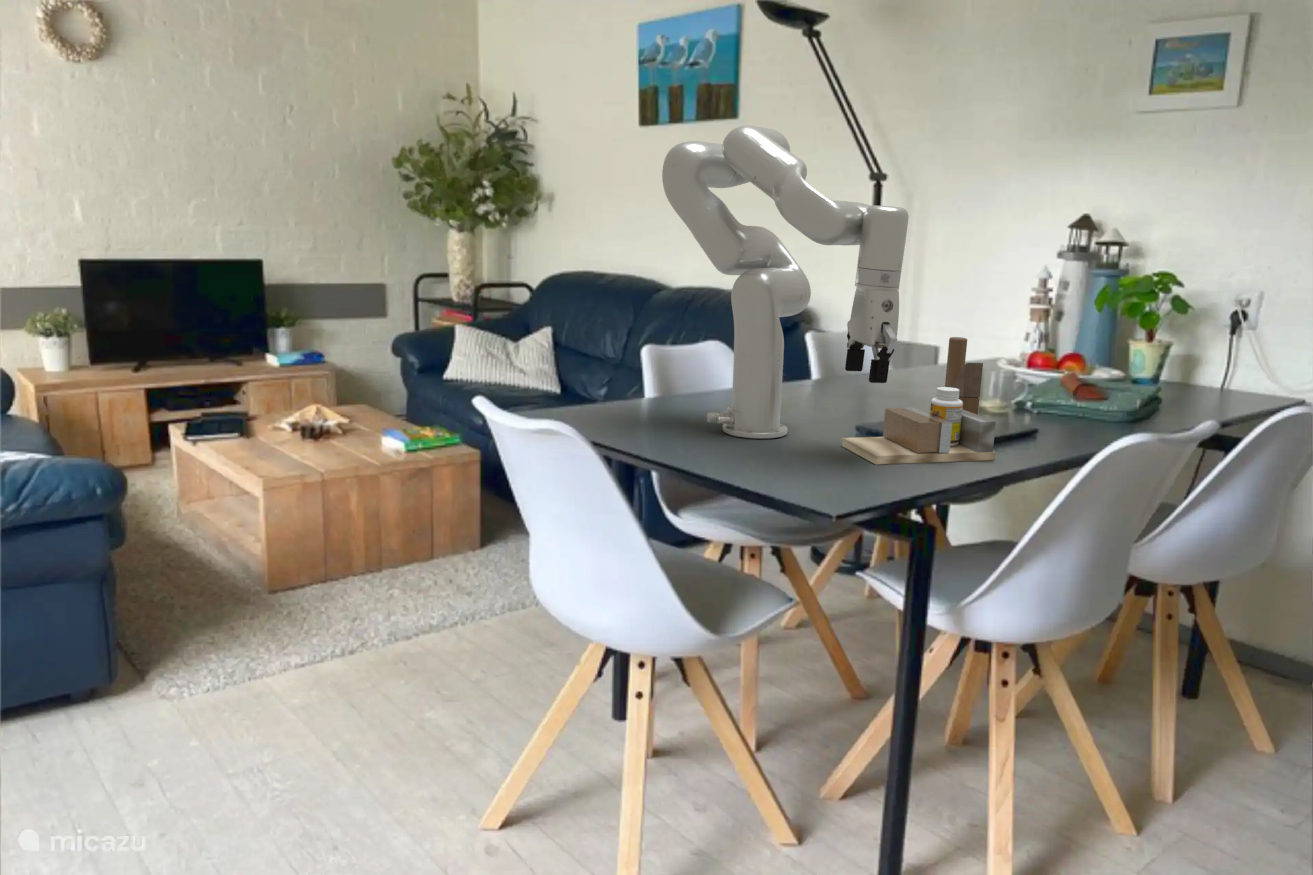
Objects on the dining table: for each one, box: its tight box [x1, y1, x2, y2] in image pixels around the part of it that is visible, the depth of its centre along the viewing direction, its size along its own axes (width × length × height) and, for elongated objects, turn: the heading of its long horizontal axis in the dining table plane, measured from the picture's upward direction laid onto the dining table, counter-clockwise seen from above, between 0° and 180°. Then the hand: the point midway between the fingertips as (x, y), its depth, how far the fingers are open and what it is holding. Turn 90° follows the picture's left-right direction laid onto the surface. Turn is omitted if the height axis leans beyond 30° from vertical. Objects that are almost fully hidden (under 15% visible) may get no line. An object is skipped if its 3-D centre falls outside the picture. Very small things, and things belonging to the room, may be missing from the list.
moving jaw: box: [882, 406, 952, 453], centre depth 175 cm, size 6×14×5 cm, turn 14°
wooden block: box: [944, 336, 984, 415], centre depth 198 cm, size 4×11×18 cm, turn 7°
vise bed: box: [841, 409, 997, 465], centre depth 176 cm, size 23×14×7 cm, turn 104°
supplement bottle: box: [929, 386, 963, 447], centre depth 176 cm, size 6×6×10 cm
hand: (865, 376), depth 172 cm, fingers open, 9 cm apart
